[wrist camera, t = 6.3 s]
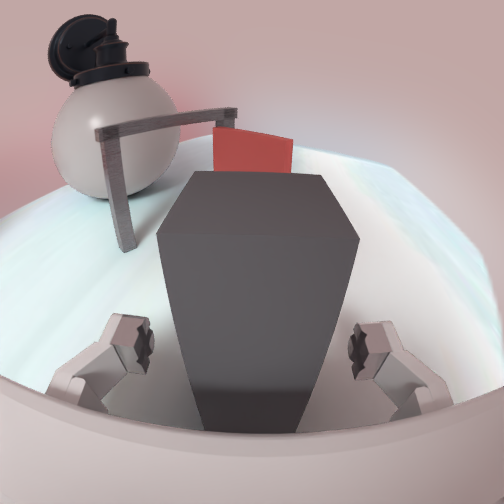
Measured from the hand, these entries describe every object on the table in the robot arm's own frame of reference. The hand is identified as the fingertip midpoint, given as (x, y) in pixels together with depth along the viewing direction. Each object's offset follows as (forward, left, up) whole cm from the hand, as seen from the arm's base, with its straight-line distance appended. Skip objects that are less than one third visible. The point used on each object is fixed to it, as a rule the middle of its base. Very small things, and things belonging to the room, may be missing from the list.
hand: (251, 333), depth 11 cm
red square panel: (-11, +17, -6) cm, 21 cm away
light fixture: (-35, +17, -7) cm, 40 cm away
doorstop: (0, 0, -7) cm, 7 cm away
